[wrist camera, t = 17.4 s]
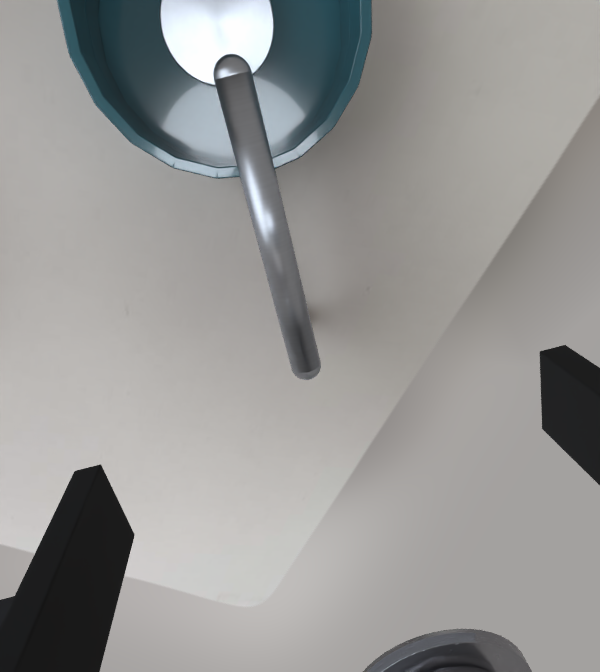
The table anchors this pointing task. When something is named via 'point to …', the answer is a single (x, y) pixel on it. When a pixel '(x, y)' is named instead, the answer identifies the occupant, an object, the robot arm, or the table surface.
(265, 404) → the table surface
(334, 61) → the bowl
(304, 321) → the ladle
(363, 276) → the table surface
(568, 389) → the robot arm
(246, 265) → the table surface
